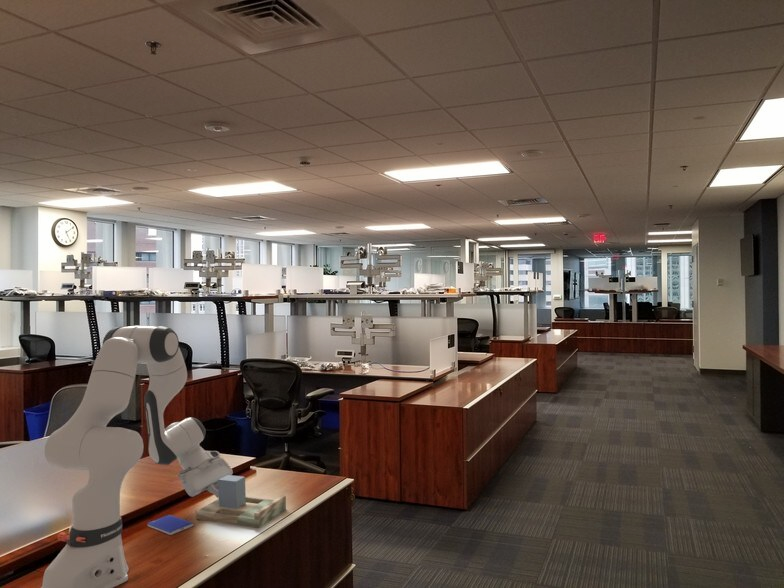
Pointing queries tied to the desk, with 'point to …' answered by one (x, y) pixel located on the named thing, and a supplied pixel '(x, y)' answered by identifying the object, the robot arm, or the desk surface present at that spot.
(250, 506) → the box
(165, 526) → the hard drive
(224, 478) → the slate block
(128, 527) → the desk surface
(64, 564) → the robot arm
